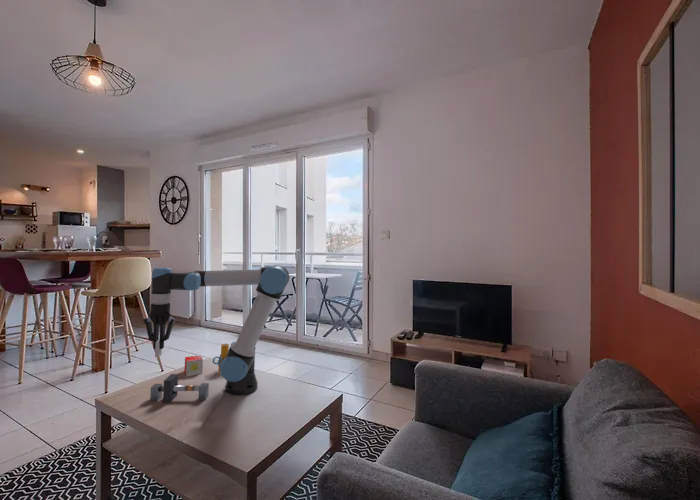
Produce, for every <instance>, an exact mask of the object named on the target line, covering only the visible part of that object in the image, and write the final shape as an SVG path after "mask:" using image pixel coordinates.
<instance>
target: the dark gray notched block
mask: <svg viewBox="0 0 700 500" xmlns="http://www.w3.org/2000/svg"><path fill="white" fill-rule="evenodd" d="M178 384H179V373H171V374H169V375H168V376H167V377H166V378H165V379H164V380H163V386H164V391H163V392H162V396H163V397H162V403H163V404H164V403H167V404H168V403H169V404H170V403H172V402H173V400H174V399H176V397H177V396H178V392H179V391H172V387H173V386H179V385H178Z"/></svg>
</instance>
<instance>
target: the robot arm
mask: <svg viewBox="0 0 700 500" xmlns="http://www.w3.org/2000/svg"><path fill="white" fill-rule="evenodd" d="M172 270H173V269H172V268H170V267H155V268H153V269H152V274H151V287H150V288H151V291H150V307H149V308H150V310H149V312H150V313H149V315H148V316H147V317H145V318H143V320H142V321H143V324H145V327H146V333H147V338H148V341H151V342H153V345H152V346H153V350H154V351H155V352H154V357H155V358H159V357H161V356H162V352H163V351H162V350H163V349H164V347H165V341H166V342H167V340H169V339H170V336H171V333H172V329H173V326H174V324H175V322H176V321H177V319H176V317H172V316H171V303H170V302H171V297H172V295H171V294H172V293H171V291H173V290H175V291H188V292H190V291H191V292H192V291H197V290H199V289H200V288H201V287H224V286H225V287H226V286H228V287H231V286H256V289H255V291H256V297H255V298H254V301H253V304H252V305H251V308H250V310H249V312H248V314H247V317H246V319H245V321H244V323H243V326H242V328H241V331H240V333H239V334H238V336H237V339H236V340H235V341H233V342H231V343H230V345H229V350H228V353H227V355H226V357H225V359H224V360H223V361H222V363H221V366H220V373H219V374H220V375H221V377H222V378H223V379H224V380H226V383H225V387H224V391H225V392H226V393H227V395H228V394H229V395H232V396H242V395H244V396H245V395H248V394H251V393H253V392H255V391H257V389H258V380H257V377H256V373H255V367H256V365H255V363H256V362H255V359H256V349H257V348H256V345H257V343H258V341H259V339H260V336H261V334H262V332H263V330H264V327H265V325H266V324H267V320H268V318H269V317H270V313H271V311H272V310H273V307H274V305H275V303H276V302H277V301H279V300H280V299H282V298H281V297H282V296H283V293H284V292H285V289H286V287H287V285H288V284H289V281H290V273H289V271H288V269H287V268H286V267H284V266H283V265H278V264H277V265H276V264H275V265H272V266H264V267H263V266H261V267H260V268H259V269H233V270H232V269H227V270H226V269H225V270H222V269H221V270H193V271H188V272H186V273H185V272H173V271H172ZM167 322H168V324H167ZM152 323H153V325H152ZM166 324H167V327H166Z"/></svg>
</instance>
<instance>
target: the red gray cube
mask: <svg viewBox="0 0 700 500" xmlns="http://www.w3.org/2000/svg"><path fill="white" fill-rule="evenodd" d="M203 365H204V359H203V357H202V355H200V354H199V355H191V356H190V355H189V356H185V357H184V373H185V374H184V375H185V377H190V376H195V375H197V376H198V375H202V374H203V367H204V366H203Z"/></svg>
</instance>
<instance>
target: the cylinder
mask: <svg viewBox="0 0 700 500" xmlns="http://www.w3.org/2000/svg"><path fill="white" fill-rule="evenodd" d="M220 345H221V346H220V354H219V356H215V357H213V358H212V363H213V364H214V365H217V366H218V367H217V368H218V371H217V372H218V373H219V374H221V373H220V366H221V363H222V361H223V360H224V359H225V357H226V355H227V353H228V350H229V348H230V344H229V343H221V344H220ZM216 359H218V360H217V362H215V360H216Z"/></svg>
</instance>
